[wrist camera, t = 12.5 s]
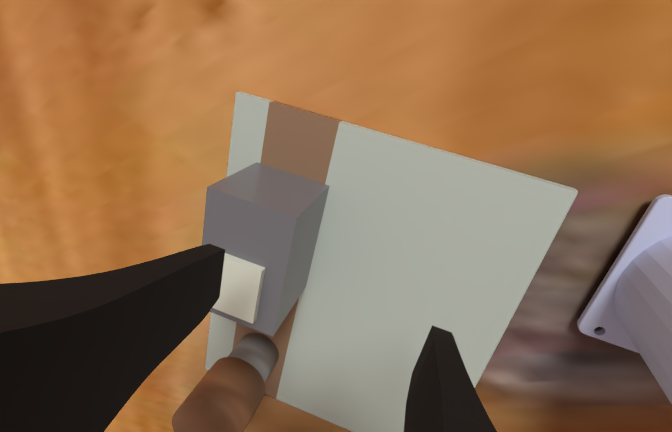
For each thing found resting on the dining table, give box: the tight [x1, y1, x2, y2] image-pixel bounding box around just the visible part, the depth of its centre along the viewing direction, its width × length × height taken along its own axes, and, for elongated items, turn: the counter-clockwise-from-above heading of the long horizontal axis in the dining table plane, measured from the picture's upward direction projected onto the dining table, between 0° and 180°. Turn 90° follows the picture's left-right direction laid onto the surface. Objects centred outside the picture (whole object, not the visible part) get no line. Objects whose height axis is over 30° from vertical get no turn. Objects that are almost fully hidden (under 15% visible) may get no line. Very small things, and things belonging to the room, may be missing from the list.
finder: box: [202, 162, 330, 337], centre depth 21 cm, size 4×7×5 cm, turn 167°
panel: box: [205, 92, 578, 432], centre depth 25 cm, size 18×21×1 cm
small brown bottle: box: [172, 333, 279, 432], centre depth 25 cm, size 4×4×7 cm
